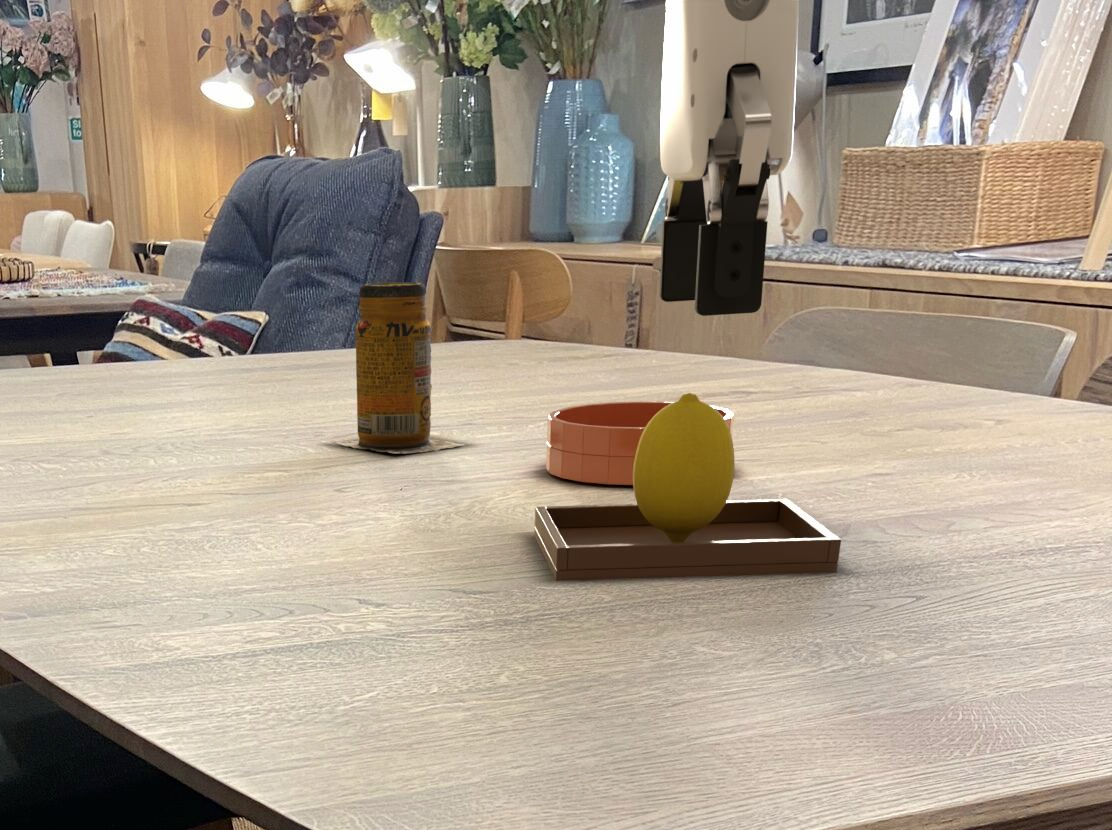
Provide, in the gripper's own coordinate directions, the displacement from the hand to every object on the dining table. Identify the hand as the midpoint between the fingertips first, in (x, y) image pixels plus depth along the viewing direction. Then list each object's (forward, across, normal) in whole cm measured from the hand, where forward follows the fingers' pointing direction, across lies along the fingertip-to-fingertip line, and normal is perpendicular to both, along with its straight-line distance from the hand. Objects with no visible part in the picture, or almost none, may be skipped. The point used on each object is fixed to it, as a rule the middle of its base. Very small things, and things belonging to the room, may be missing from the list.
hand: (706, 306), depth 76 cm
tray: (+13, 0, +1) cm, 13 cm away
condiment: (+12, +41, +16) cm, 46 cm away
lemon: (+12, 0, +1) cm, 12 cm away
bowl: (+13, +26, -1) cm, 29 cm away
